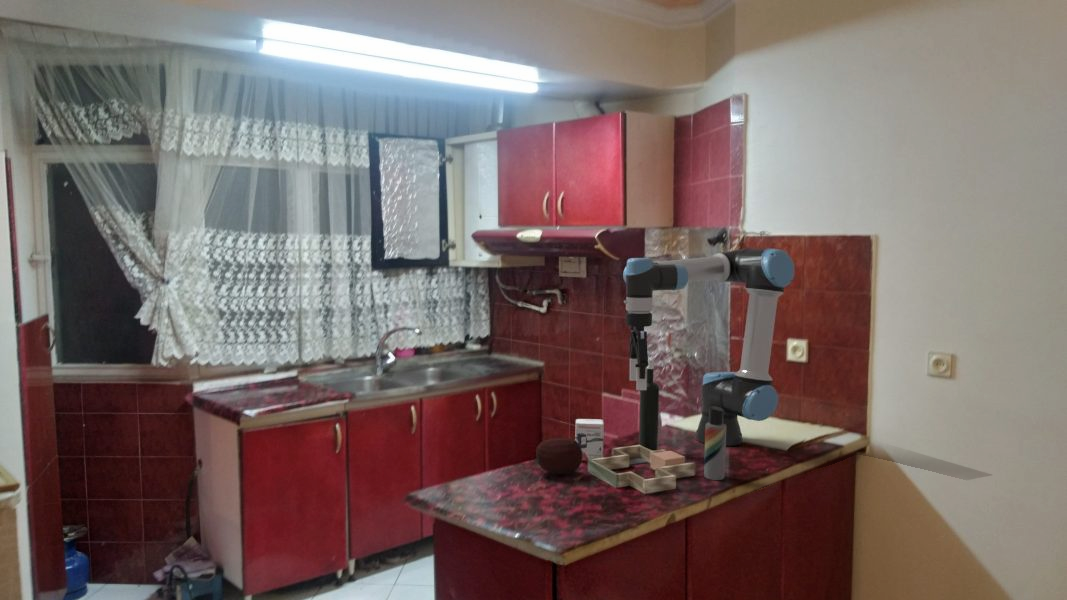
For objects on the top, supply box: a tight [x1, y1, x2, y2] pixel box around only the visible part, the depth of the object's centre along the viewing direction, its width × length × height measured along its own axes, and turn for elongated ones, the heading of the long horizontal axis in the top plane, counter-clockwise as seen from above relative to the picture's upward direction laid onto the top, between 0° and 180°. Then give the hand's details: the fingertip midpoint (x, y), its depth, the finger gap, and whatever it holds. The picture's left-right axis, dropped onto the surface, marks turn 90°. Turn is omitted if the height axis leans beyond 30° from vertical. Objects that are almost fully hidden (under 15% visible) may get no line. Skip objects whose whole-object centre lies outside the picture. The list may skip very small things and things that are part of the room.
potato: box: [535, 437, 583, 476], centre depth 203 cm, size 11×13×10 cm
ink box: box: [574, 418, 605, 462], centre depth 218 cm, size 8×5×12 cm, turn 86°
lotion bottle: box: [703, 406, 727, 481], centre depth 202 cm, size 6×6×20 cm
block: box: [650, 450, 686, 470], centre depth 209 cm, size 7×7×4 cm
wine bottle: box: [638, 356, 660, 451], centre depth 225 cm, size 6×6×30 cm
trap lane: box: [587, 444, 696, 495], centre depth 205 cm, size 26×29×4 cm
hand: (637, 385), depth 207 cm, fingers open, 13 cm apart
